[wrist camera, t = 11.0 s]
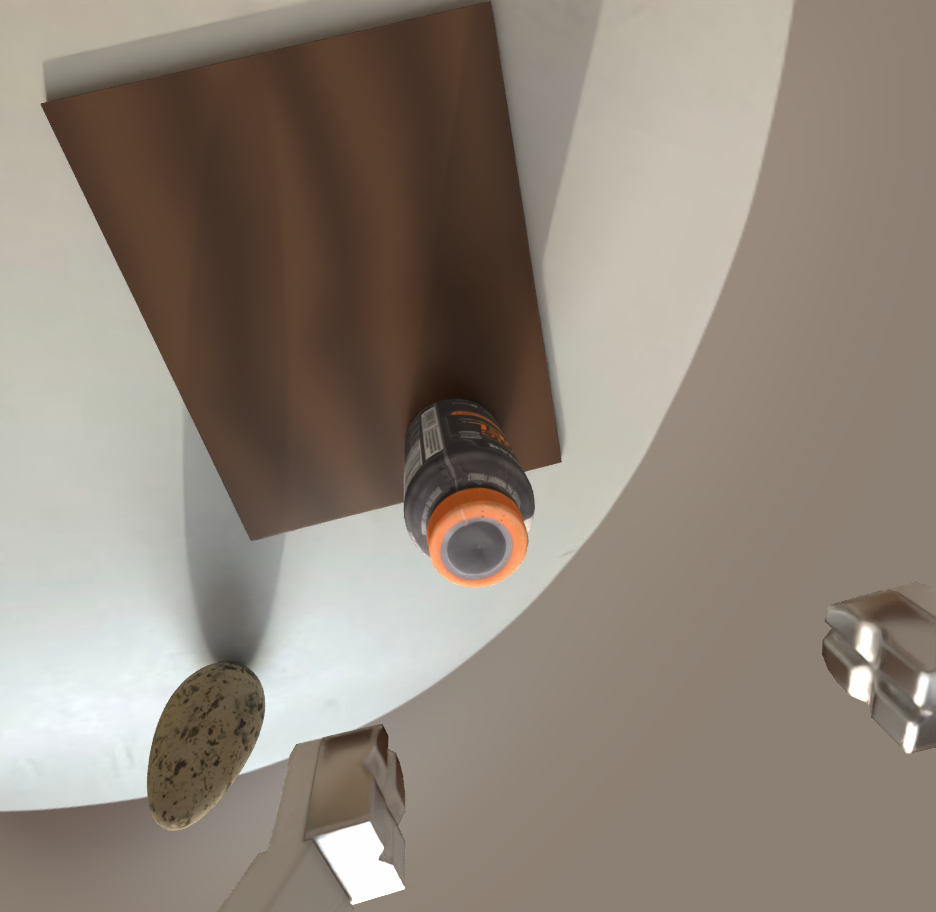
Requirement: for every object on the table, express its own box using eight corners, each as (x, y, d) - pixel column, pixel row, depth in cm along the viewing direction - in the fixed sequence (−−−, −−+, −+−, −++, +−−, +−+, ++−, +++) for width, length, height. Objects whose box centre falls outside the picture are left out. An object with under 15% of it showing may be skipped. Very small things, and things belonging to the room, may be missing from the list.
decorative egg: (227, 626, 33) (161, 770, 24) (294, 672, 35) (256, 820, 26) (167, 674, 34) (81, 831, 25) (236, 715, 36) (180, 874, 27)
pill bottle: (521, 438, 30) (584, 540, 20) (456, 505, 31) (482, 633, 21) (449, 375, 28) (477, 451, 17) (382, 448, 29) (371, 560, 19)
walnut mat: (489, 4, 22) (491, 0, 21) (560, 459, 31) (561, 462, 31) (45, 105, 21) (39, 103, 21) (252, 538, 31) (251, 541, 30)
